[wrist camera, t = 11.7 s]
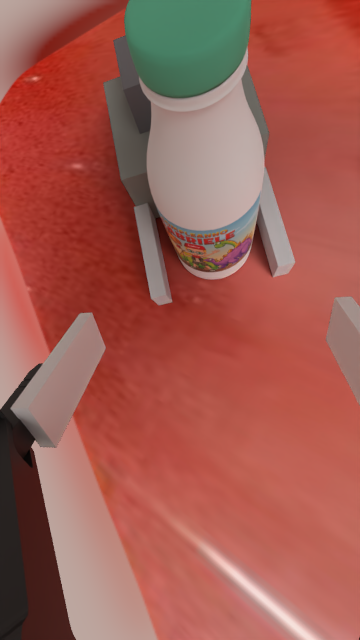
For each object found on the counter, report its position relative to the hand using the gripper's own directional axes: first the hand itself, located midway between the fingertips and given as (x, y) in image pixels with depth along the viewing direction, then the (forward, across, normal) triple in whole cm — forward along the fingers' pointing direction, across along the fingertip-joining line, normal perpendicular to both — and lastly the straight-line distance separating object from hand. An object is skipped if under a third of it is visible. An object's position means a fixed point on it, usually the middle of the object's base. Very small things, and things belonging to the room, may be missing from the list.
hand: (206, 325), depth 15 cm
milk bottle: (+16, 0, -2) cm, 16 cm away
